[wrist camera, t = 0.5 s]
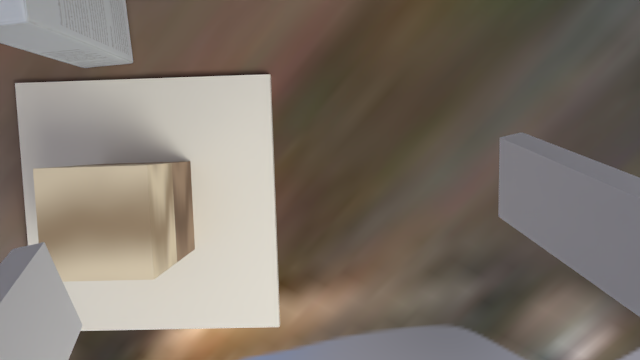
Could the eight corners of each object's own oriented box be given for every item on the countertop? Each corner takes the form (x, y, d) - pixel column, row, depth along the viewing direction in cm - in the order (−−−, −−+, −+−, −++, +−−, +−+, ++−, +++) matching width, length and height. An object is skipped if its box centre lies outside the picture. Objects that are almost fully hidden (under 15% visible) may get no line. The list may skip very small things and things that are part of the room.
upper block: (72, 165, 30) (32, 168, 26) (171, 162, 30) (147, 165, 26) (79, 264, 31) (41, 282, 27) (177, 262, 31) (153, 279, 27)
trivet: (20, 84, 34) (14, 83, 34) (270, 75, 34) (269, 74, 33) (39, 328, 36) (34, 331, 35) (280, 323, 35) (279, 327, 35)
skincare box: (72, -7, 34) (-69, -92, 22) (125, -13, 34) (13, -102, 22) (82, 71, 34) (-51, 30, 22) (135, 66, 34) (30, 21, 22)
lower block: (102, 163, 34) (72, 165, 30) (190, 161, 34) (171, 162, 30) (108, 251, 35) (79, 264, 31) (194, 249, 34) (177, 262, 31)
